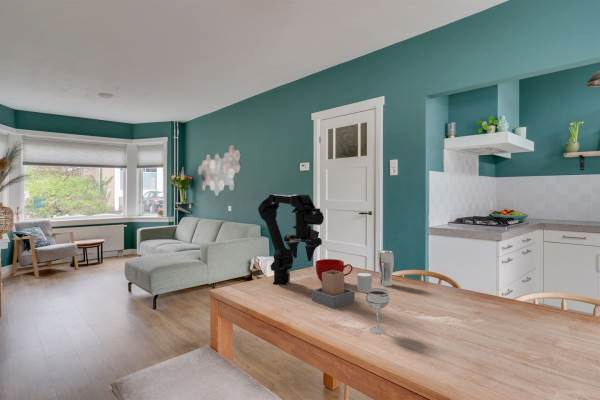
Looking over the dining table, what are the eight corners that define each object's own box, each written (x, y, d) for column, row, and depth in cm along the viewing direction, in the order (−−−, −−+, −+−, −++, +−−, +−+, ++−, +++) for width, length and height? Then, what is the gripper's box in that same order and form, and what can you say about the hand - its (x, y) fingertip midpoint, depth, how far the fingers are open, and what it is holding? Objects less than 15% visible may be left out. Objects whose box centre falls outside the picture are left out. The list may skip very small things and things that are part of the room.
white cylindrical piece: (373, 293, 138) (373, 276, 138) (357, 293, 138) (357, 276, 138) (370, 288, 145) (370, 272, 144) (355, 288, 145) (354, 272, 145)
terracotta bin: (322, 298, 129) (322, 272, 128) (333, 294, 132) (332, 270, 132) (333, 302, 124) (333, 275, 124) (344, 298, 128) (344, 272, 128)
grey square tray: (312, 300, 129) (311, 290, 129) (333, 294, 136) (333, 284, 136) (333, 308, 120) (333, 297, 120) (354, 301, 128) (354, 291, 127)
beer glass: (374, 283, 151) (374, 251, 151) (386, 281, 154) (386, 249, 154) (384, 287, 145) (384, 253, 145) (397, 285, 148) (397, 252, 148)
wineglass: (381, 337, 96) (381, 296, 96) (362, 330, 101) (361, 291, 101) (393, 330, 101) (393, 291, 101) (373, 324, 106) (373, 286, 105)
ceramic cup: (354, 287, 146) (354, 265, 145) (315, 287, 146) (315, 265, 146) (350, 279, 159) (350, 258, 158) (315, 279, 159) (315, 259, 159)
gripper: (330, 223, 141) (331, 260, 141) (301, 220, 155) (302, 254, 155) (311, 225, 134) (312, 264, 134) (283, 222, 148) (283, 257, 148)
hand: (302, 259), depth 143 cm, fingers open, 9 cm apart
